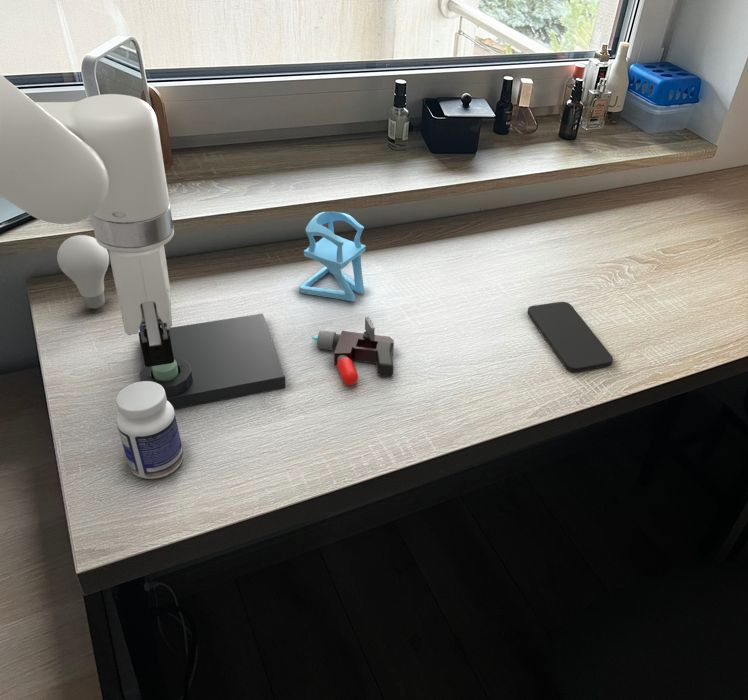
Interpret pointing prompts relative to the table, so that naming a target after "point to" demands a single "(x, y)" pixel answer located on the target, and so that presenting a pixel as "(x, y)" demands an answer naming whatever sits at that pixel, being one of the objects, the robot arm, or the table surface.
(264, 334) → the dark grey button base
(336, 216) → the chair
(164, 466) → the pill bottle
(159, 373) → the button
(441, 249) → the table surface
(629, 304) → the table surface
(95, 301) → the lightbulb
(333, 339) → the toy gun
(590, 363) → the phone
